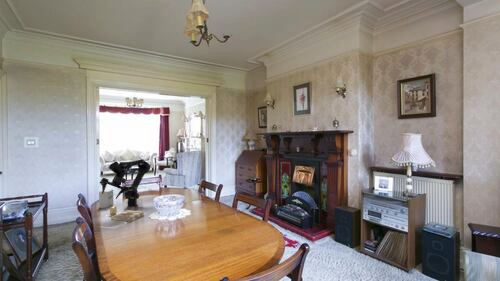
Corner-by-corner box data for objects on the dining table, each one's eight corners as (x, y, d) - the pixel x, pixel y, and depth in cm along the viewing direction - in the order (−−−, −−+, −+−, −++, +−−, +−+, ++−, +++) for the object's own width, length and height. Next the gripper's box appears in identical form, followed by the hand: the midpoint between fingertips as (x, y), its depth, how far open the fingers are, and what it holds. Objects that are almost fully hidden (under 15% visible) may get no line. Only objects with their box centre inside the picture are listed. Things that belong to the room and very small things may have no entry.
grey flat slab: (114, 213, 177) (114, 211, 177) (122, 213, 175) (122, 212, 175) (103, 217, 168) (103, 215, 168) (112, 217, 166) (112, 216, 166)
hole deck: (127, 213, 174) (127, 210, 174) (144, 215, 171) (143, 211, 171) (111, 220, 161) (111, 216, 161) (129, 222, 157) (129, 217, 157)
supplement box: (108, 207, 190) (108, 191, 190) (98, 208, 190) (98, 191, 190) (113, 205, 197) (113, 189, 197) (104, 205, 197) (104, 189, 197)
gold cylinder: (113, 213, 174) (113, 206, 174) (118, 213, 173) (117, 206, 173) (108, 214, 170) (108, 207, 170) (113, 215, 169) (113, 208, 169)
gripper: (109, 167, 170) (97, 187, 160) (135, 178, 178) (126, 198, 168) (104, 172, 177) (93, 192, 167) (130, 183, 185) (121, 202, 176)
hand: (109, 196), depth 169 cm, fingers open, 9 cm apart
